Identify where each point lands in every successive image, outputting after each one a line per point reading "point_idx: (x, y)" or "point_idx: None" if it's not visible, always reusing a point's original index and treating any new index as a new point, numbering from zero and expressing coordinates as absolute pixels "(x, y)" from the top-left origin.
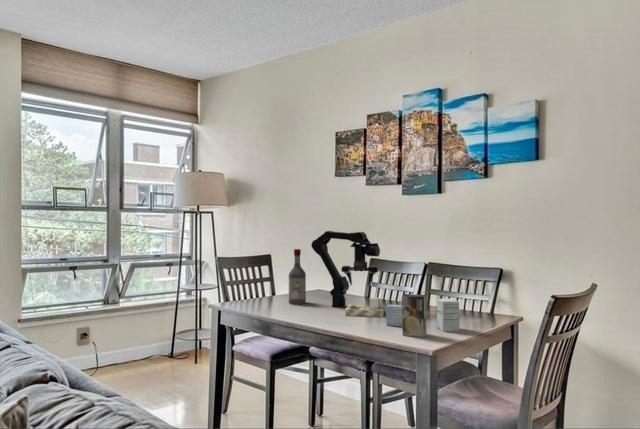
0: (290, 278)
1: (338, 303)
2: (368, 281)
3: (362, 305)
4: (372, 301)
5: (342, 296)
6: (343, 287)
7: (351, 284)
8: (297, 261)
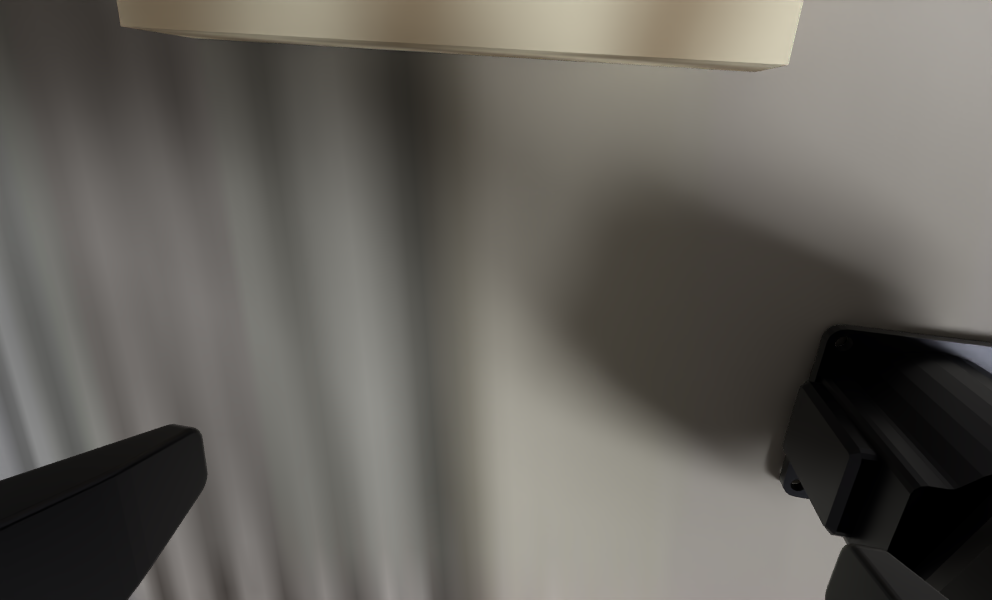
0: None
1: (952, 373)
2: (30, 513)
3: (496, 6)
4: None
5: (933, 471)
6: None
7: (862, 571)
8: None
